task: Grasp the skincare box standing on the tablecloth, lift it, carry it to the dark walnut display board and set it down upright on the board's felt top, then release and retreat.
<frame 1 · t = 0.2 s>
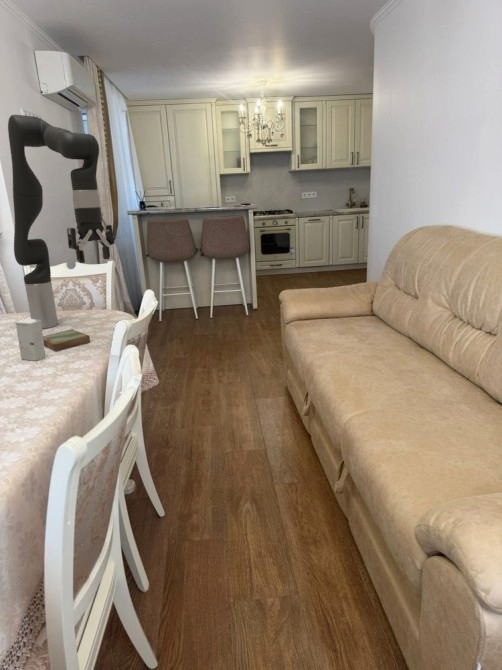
hand: (94, 260, 137), 29 cm above the table, fingers open, 8 cm apart
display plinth: (65, 343, 152), on the table
skincare box: (34, 358, 139), on the table
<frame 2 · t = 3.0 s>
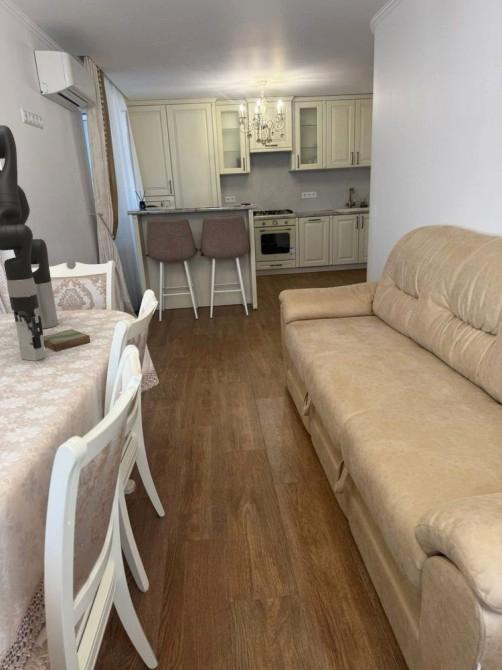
hand: (32, 345, 138), 4 cm above the table, fingers closed on skincare box, 7 cm apart
skincare box: (34, 358, 139), on the table, touching gripper
when the fingers open (7 cm above the table, at t = 10.6 s): skincare box stays where it is, resting on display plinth.
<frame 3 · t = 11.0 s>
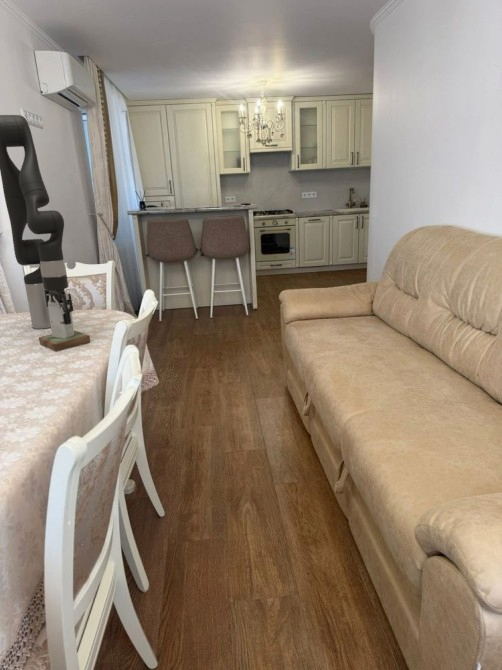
hand: (61, 322, 150), 8 cm above the table, fingers open, 8 cm apart
skincare box: (64, 336, 152), point 2 cm above the table, touching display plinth
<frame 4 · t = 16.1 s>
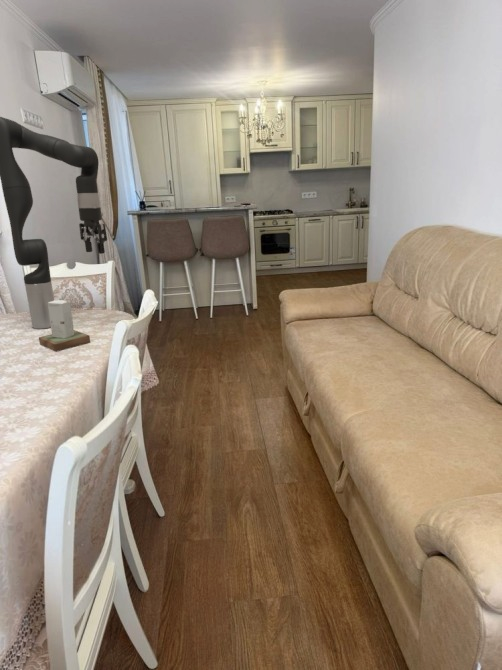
hand: (95, 252, 163), 28 cm above the table, fingers open, 8 cm apart
nothing on the table moved.
at the end: skincare box inside the target area on the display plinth (0.0 cm from its centre), point 2.4 cm above the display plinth's base; skincare box tilted 0°; the gripper is holding nothing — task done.
